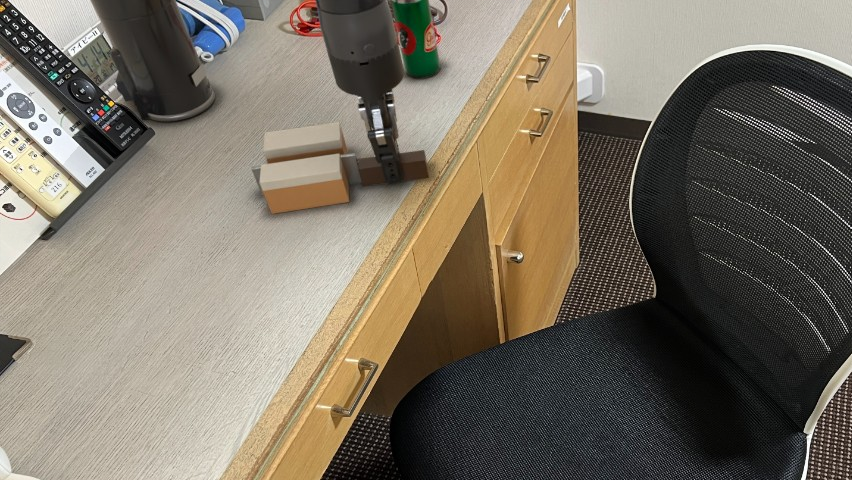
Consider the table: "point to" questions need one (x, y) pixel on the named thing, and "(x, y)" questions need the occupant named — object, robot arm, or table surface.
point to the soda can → (416, 37)
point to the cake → (304, 143)
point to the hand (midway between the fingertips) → (394, 173)
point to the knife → (374, 168)
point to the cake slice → (304, 183)
